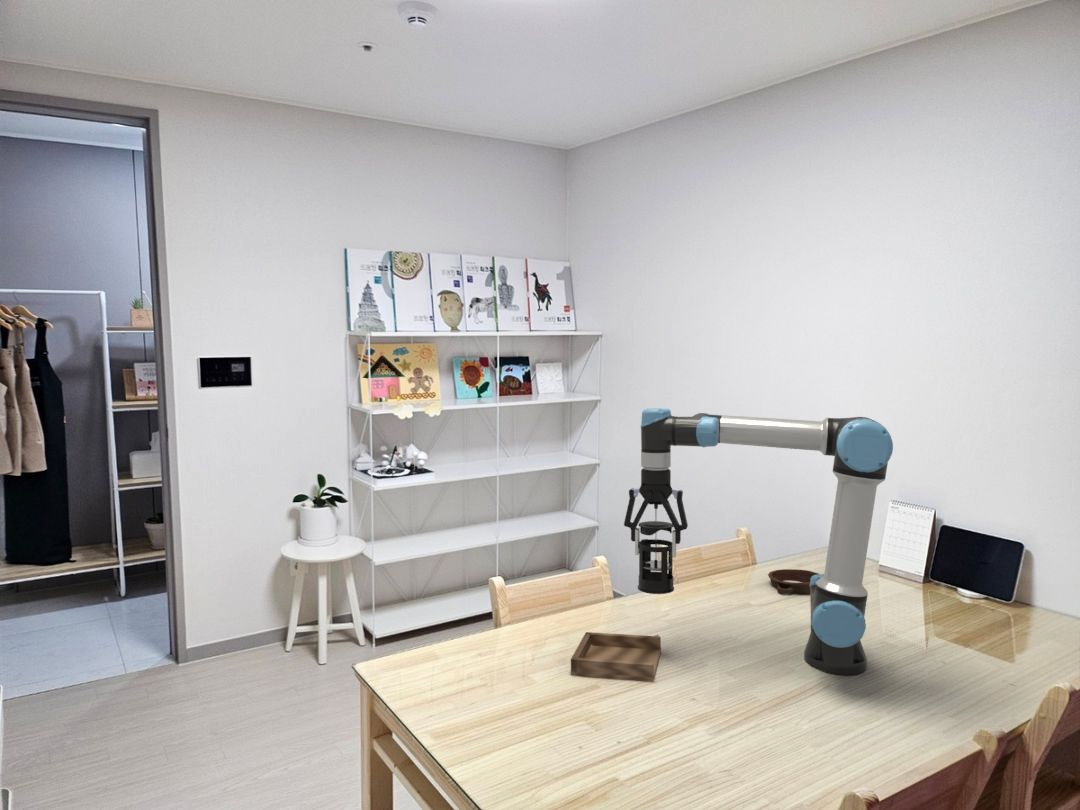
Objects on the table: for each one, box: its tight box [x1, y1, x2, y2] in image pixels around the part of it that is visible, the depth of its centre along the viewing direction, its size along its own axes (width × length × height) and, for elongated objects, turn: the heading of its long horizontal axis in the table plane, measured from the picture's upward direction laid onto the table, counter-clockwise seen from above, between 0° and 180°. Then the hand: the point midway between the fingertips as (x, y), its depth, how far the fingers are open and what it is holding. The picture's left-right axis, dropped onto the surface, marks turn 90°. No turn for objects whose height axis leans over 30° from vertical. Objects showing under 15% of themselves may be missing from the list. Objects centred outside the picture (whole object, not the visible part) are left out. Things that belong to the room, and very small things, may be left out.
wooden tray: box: [570, 631, 662, 683], centre depth 191 cm, size 20×20×4 cm
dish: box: [767, 568, 819, 595], centre depth 251 cm, size 18×22×5 cm
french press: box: [637, 502, 675, 595], centre depth 195 cm, size 12×9×23 cm
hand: (655, 554), depth 195 cm, fingers closed on french press, 9 cm apart
